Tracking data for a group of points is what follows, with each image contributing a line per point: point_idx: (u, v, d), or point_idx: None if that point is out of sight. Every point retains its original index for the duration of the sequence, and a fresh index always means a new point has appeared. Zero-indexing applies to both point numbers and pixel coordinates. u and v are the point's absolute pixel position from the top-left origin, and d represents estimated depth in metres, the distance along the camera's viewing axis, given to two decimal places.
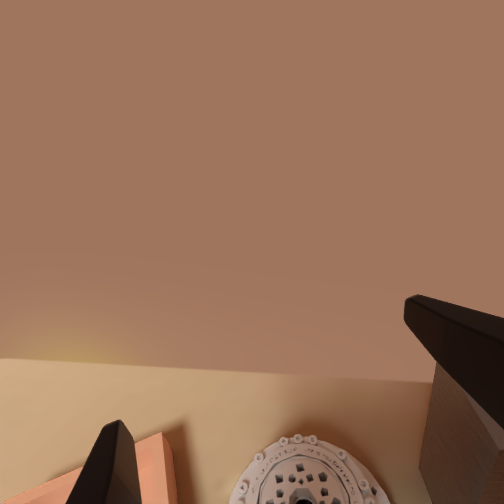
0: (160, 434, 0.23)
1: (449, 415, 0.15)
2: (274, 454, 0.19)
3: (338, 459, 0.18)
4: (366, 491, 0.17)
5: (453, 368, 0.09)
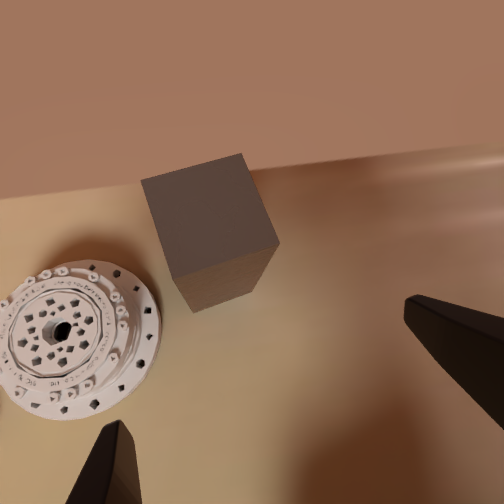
0: None
1: None
2: (20, 297, 0.18)
3: (90, 282, 0.18)
4: (118, 300, 0.19)
5: (453, 368, 0.09)
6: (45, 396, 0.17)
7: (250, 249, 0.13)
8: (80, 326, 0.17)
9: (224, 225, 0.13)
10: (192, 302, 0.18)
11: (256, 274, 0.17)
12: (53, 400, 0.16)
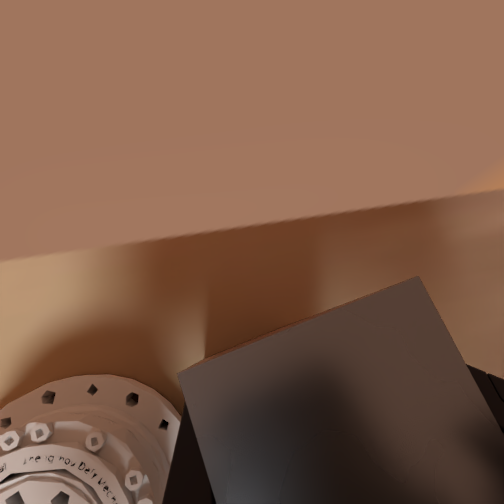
0: None
1: None
2: None
3: (89, 452, 0.10)
4: (140, 483, 0.10)
5: None
6: None
7: None
8: None
9: None
10: None
11: None
12: None
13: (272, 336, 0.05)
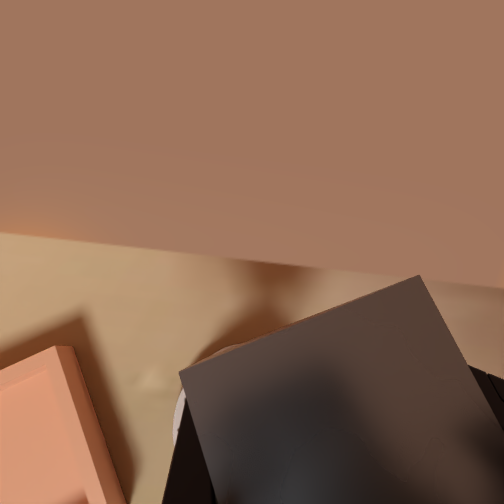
0: (53, 348, 0.19)
1: None
2: None
3: None
4: None
5: None
6: None
7: None
8: None
9: None
10: None
11: None
12: None
13: (273, 334, 0.05)
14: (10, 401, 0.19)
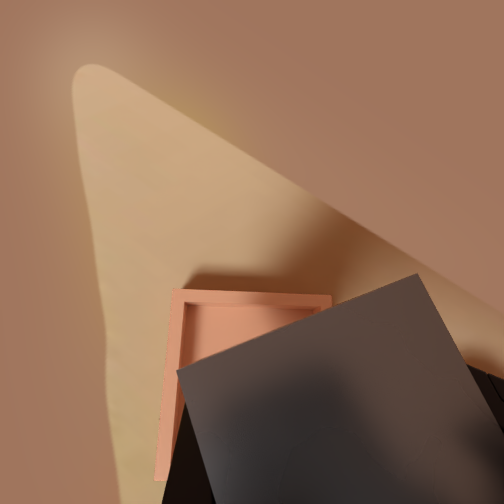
0: (330, 297, 0.21)
1: None
2: None
3: None
4: None
5: None
6: None
7: None
8: None
9: None
10: None
11: None
12: None
13: (271, 333, 0.05)
14: (268, 320, 0.22)
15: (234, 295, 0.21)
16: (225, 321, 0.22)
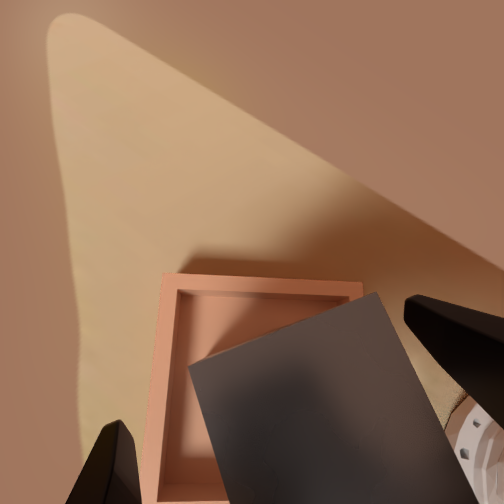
0: (360, 285, 0.17)
1: None
2: None
3: None
4: None
5: (453, 368, 0.09)
6: None
7: None
8: None
9: (365, 468, 0.06)
10: None
11: None
12: None
13: (260, 338, 0.07)
14: (281, 314, 0.18)
15: (240, 281, 0.16)
16: (229, 314, 0.18)
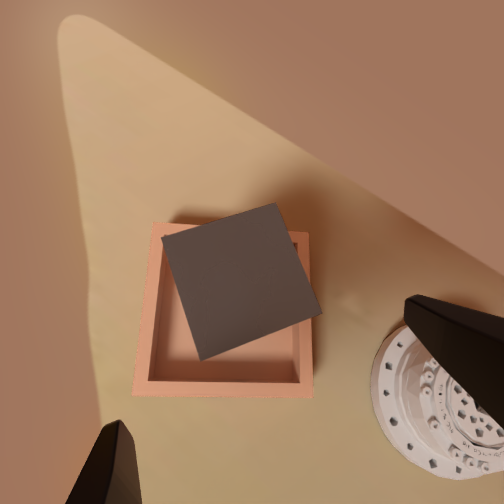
0: (307, 234, 0.22)
1: None
2: None
3: None
4: None
5: (453, 368, 0.09)
6: (446, 444, 0.18)
7: (289, 322, 0.11)
8: None
9: (259, 292, 0.11)
10: None
11: None
12: (455, 456, 0.18)
13: (203, 225, 0.12)
14: None
15: None
16: None
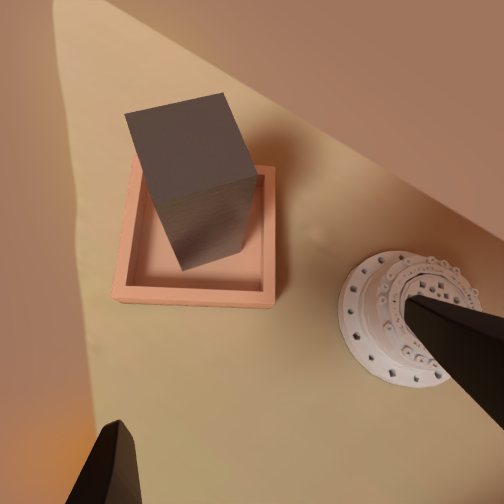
0: (273, 168, 0.24)
1: None
2: (422, 266, 0.21)
3: (471, 294, 0.21)
4: None
5: (453, 368, 0.09)
6: (399, 345, 0.20)
7: (229, 180, 0.13)
8: None
9: (205, 157, 0.13)
10: (178, 251, 0.19)
11: (241, 222, 0.18)
12: (407, 354, 0.19)
13: (160, 106, 0.14)
14: None
15: None
16: None
